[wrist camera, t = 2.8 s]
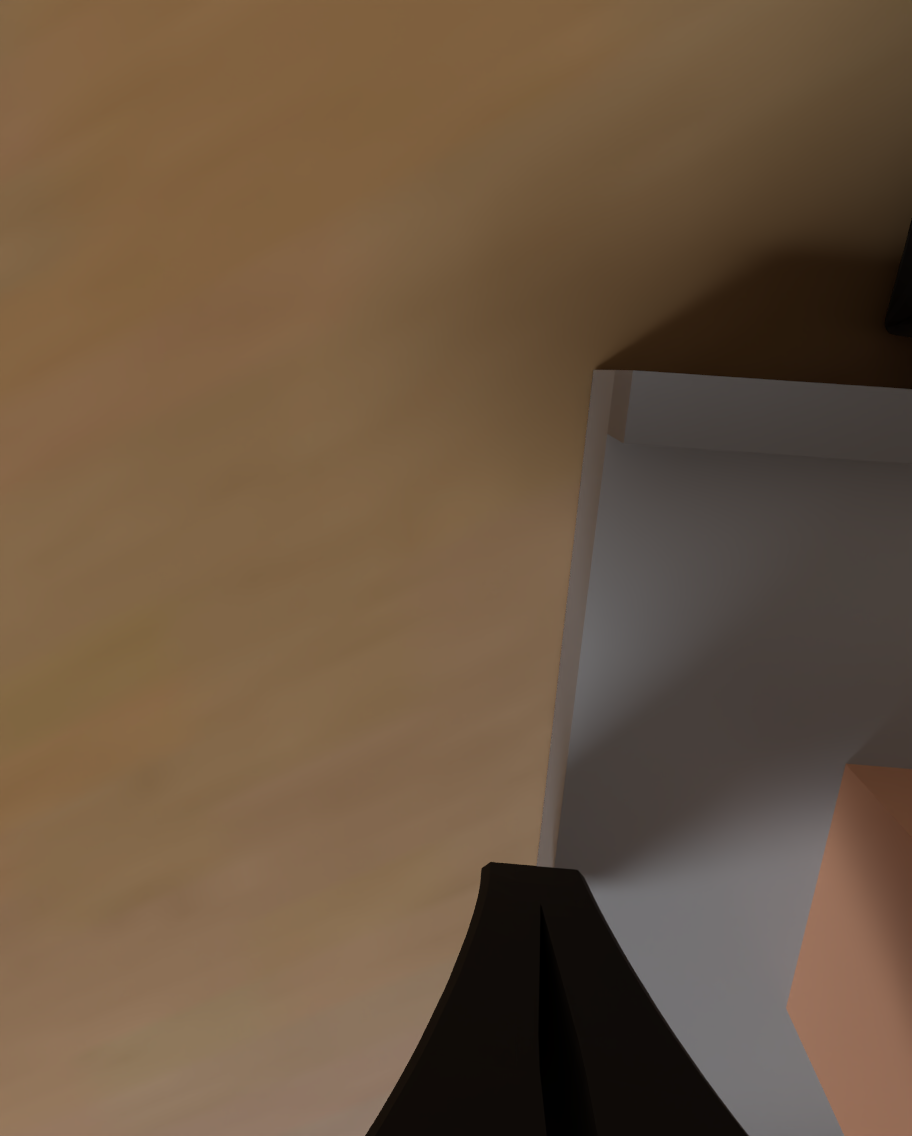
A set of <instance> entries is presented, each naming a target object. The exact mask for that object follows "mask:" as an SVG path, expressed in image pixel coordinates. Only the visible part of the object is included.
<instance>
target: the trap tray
mask: <svg viewBox="0 0 912 1136" xmlns="http://www.w3.org/2000/svg"><path fill="white" fill-rule="evenodd" d="M846 764H857V765H869V766H881V767H892V768H904V769H912V389H902V388H887V387H872V386H857V385H843V384H828V383H813V382H798V381H784V380H769V379H754V378H739V377H724V376H710V375H695V374H680V373H665V372H651V371H636V370H593V378H592V387H591V396H590V405H589V413H588V422H587V431H586V440H585V448H584V457H583V466H582V475H581V483H580V492H579V501H578V510H577V518H576V527H575V536H574V545H573V553H572V562H571V571H570V580H569V588H568V597H567V606H566V615H565V623H564V632H563V641H562V650H561V658H560V667H559V676H558V685H557V693H556V702H555V711H554V720H553V728H552V737H551V746H550V755H549V763H548V772H547V781H546V790H545V798H544V807H543V816H542V825H541V833H540V842H539V851H538V860H537V866H541V867H553V868H564V869H575V870H578V871H579V872H580V873H581V874H582V875H583V876H584V878H585V880H586V882H587V884H588V886H589V888H590V890H591V892H592V894H593V896H594V898H595V900H596V902H597V904H598V906H599V908H600V910H601V912H602V914H603V916H604V918H605V920H606V921H607V923H608V925H609V927H610V929H611V931H612V932H613V934H614V936H615V938H616V940H617V941H618V943H619V945H620V947H621V949H622V950H623V952H624V954H625V955H626V957H627V959H628V961H629V962H630V964H631V966H632V967H633V969H634V971H635V972H636V974H637V975H638V977H639V979H640V980H641V982H642V984H643V985H644V987H645V988H646V990H647V992H648V993H649V995H650V996H651V998H652V1000H653V1001H654V1003H655V1004H656V1006H657V1008H658V1009H659V1011H660V1012H661V1014H662V1015H663V1017H664V1018H665V1020H666V1022H667V1023H668V1025H669V1026H670V1028H671V1029H672V1031H673V1032H674V1034H675V1035H676V1037H677V1038H678V1040H679V1041H680V1042H681V1044H682V1045H683V1047H684V1048H685V1050H686V1051H687V1053H688V1054H689V1055H690V1057H691V1058H692V1060H693V1061H694V1063H695V1064H696V1066H697V1067H698V1068H699V1070H700V1071H701V1073H702V1074H703V1075H704V1077H705V1078H706V1080H707V1081H708V1082H709V1084H710V1085H711V1086H712V1088H713V1089H714V1091H715V1092H716V1093H717V1095H718V1096H719V1097H720V1099H721V1100H722V1101H723V1103H724V1104H725V1105H726V1107H727V1108H728V1109H729V1111H730V1112H731V1113H732V1115H733V1116H734V1117H735V1119H736V1120H737V1121H738V1122H739V1124H740V1125H741V1126H742V1127H743V1129H744V1130H745V1131H746V1133H747V1134H748V1135H749V1136H844V1134H843V1132H842V1130H841V1127H840V1125H839V1123H838V1121H837V1119H836V1117H835V1114H834V1112H833V1110H832V1108H831V1106H830V1103H829V1101H828V1099H827V1097H826V1095H825V1093H824V1090H823V1088H822V1086H821V1084H820V1082H819V1079H818V1077H817V1075H816V1073H815V1071H814V1068H813V1066H812V1064H811V1062H810V1060H809V1058H808V1055H807V1053H806V1051H805V1049H804V1047H803V1044H802V1042H801V1040H800V1038H799V1036H798V1034H797V1031H796V1029H795V1027H794V1025H793V1023H792V1020H791V1018H790V1016H789V1014H788V1012H787V1010H786V1006H787V1002H788V998H789V994H790V990H791V986H792V981H793V977H794V973H795V969H796V965H797V961H798V957H799V953H800V949H801V945H802V941H803V936H804V932H805V928H806V924H807V920H808V916H809V912H810V908H811V904H812V900H813V896H814V891H815V887H816V883H817V879H818V875H819V871H820V867H821V863H822V859H823V855H824V851H825V846H826V842H827V838H828V834H829V830H830V826H831V822H832V818H833V814H834V810H835V806H836V801H837V797H838V793H839V789H840V785H841V781H842V777H843V773H844V769H845V765H846Z"/></svg>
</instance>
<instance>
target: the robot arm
mask: <svg viewBox="0 0 912 1136" xmlns="http://www.w3.org/2000/svg"><path fill="white" fill-rule="evenodd" d="M365 1136H749V1135H748V1134H747V1133H746V1131H745V1130H744V1129H743V1127H742V1126H741V1125H740V1124H739V1122H738V1121H737V1120H736V1119H735V1117H734V1116H733V1115H732V1113H731V1112H730V1111H729V1109H728V1108H727V1107H726V1105H725V1104H724V1103H723V1101H722V1100H721V1099H720V1097H719V1096H718V1095H717V1093H716V1092H715V1091H714V1089H713V1088H712V1086H711V1085H710V1084H709V1082H708V1081H707V1080H706V1078H705V1077H704V1075H703V1074H702V1073H701V1071H700V1070H699V1068H698V1067H697V1066H696V1064H695V1063H694V1061H693V1060H692V1058H691V1057H690V1055H689V1054H688V1053H687V1051H686V1050H685V1048H684V1047H683V1045H682V1044H681V1042H680V1041H679V1040H678V1038H677V1037H676V1035H675V1034H674V1032H673V1031H672V1029H671V1028H670V1026H669V1025H668V1023H667V1022H666V1020H665V1018H664V1017H663V1015H662V1014H661V1012H660V1011H659V1009H658V1008H657V1006H656V1004H655V1003H654V1001H653V1000H652V998H651V996H650V995H649V993H648V992H647V990H646V988H645V987H644V985H643V984H642V982H641V980H640V979H639V977H638V975H637V974H636V972H635V971H634V969H633V967H632V966H631V964H630V962H629V961H628V959H627V957H626V955H625V954H624V952H623V950H622V949H621V947H620V945H619V943H618V941H617V940H616V938H615V936H614V934H613V932H612V931H611V929H610V927H609V925H608V923H607V921H606V920H605V918H604V916H603V914H602V912H601V910H600V908H599V906H598V904H597V902H596V900H595V898H594V896H593V894H592V892H591V890H590V888H589V886H588V884H587V882H586V880H585V878H584V876H583V875H582V874H581V873H580V872H579V871H578V870H575V869H564V868H553V867H541V866H530V865H518V864H507V863H495V862H490V863H488V864H487V865H486V866H484V867H483V868H482V870H481V882H480V889H479V894H478V898H477V902H476V906H475V910H474V913H473V916H472V919H471V923H470V926H469V929H468V932H467V935H466V938H465V940H464V943H463V945H462V948H461V950H460V953H459V955H458V958H457V961H456V963H455V966H454V968H453V971H452V973H451V976H450V978H449V980H448V983H447V985H446V987H445V990H444V992H443V994H442V996H441V998H440V1000H439V1002H438V1004H437V1006H436V1008H435V1010H434V1013H433V1015H432V1017H431V1019H430V1021H429V1023H428V1025H427V1027H426V1029H425V1031H424V1033H423V1036H422V1038H421V1040H420V1041H419V1043H418V1045H417V1047H416V1049H415V1051H414V1053H413V1055H412V1057H411V1059H410V1060H409V1062H408V1064H407V1066H406V1068H405V1070H404V1071H403V1073H402V1075H401V1077H400V1079H399V1080H398V1082H397V1084H396V1086H395V1087H394V1089H393V1091H392V1092H391V1094H390V1096H389V1098H388V1099H387V1101H386V1103H385V1105H384V1106H383V1108H382V1110H381V1111H380V1113H379V1115H378V1116H377V1118H376V1120H375V1121H374V1123H373V1124H372V1126H371V1127H370V1129H369V1131H368V1132H367V1134H366V1135H365Z"/></svg>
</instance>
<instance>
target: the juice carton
mask: <svg viewBox="0 0 912 1136" xmlns="http://www.w3.org/2000/svg"><path fill="white" fill-rule="evenodd" d="M885 328H886V329H887V331H888V332H889V333H891V334H894V335H898V336H905V337H911V338H912V220H911V224H910V228H909V232H908V236H907V240H906V244H905V248H904V251H903V255H902V259H901V262H900V266H899V270H898V274H897V277H896V281H895V285H894V289H893V292H892V296H891V300H890V303H889V307H888V311H887V315H886V319H885Z"/></svg>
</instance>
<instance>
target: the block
mask: <svg viewBox="0 0 912 1136" xmlns="http://www.w3.org/2000/svg"><path fill="white" fill-rule="evenodd" d="M786 1010H787V1012H788V1014H789V1016H790V1018H791V1020H792V1023H793V1025H794V1027H795V1029H796V1031H797V1034H798V1036H799V1038H800V1040H801V1042H802V1044H803V1047H804V1049H805V1051H806V1053H807V1055H808V1058H809V1060H810V1062H811V1064H812V1066H813V1068H814V1071H815V1073H816V1075H817V1077H818V1079H819V1082H820V1084H821V1086H822V1088H823V1090H824V1093H825V1095H826V1097H827V1099H828V1101H829V1103H830V1106H831V1108H832V1110H833V1112H834V1114H835V1117H836V1119H837V1121H838V1123H839V1125H840V1127H841V1130H842V1132H843V1134H844V1136H912V769H904V768H892V767H881V766H869V765H857V764H846V765H845V769H844V773H843V777H842V781H841V785H840V789H839V793H838V797H837V801H836V806H835V810H834V814H833V818H832V822H831V826H830V830H829V834H828V838H827V842H826V846H825V851H824V855H823V859H822V863H821V867H820V871H819V875H818V879H817V883H816V887H815V891H814V896H813V900H812V904H811V908H810V912H809V916H808V920H807V924H806V928H805V932H804V936H803V941H802V945H801V949H800V953H799V957H798V961H797V965H796V969H795V973H794V977H793V981H792V986H791V990H790V994H789V998H788V1002H787V1006H786Z"/></svg>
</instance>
